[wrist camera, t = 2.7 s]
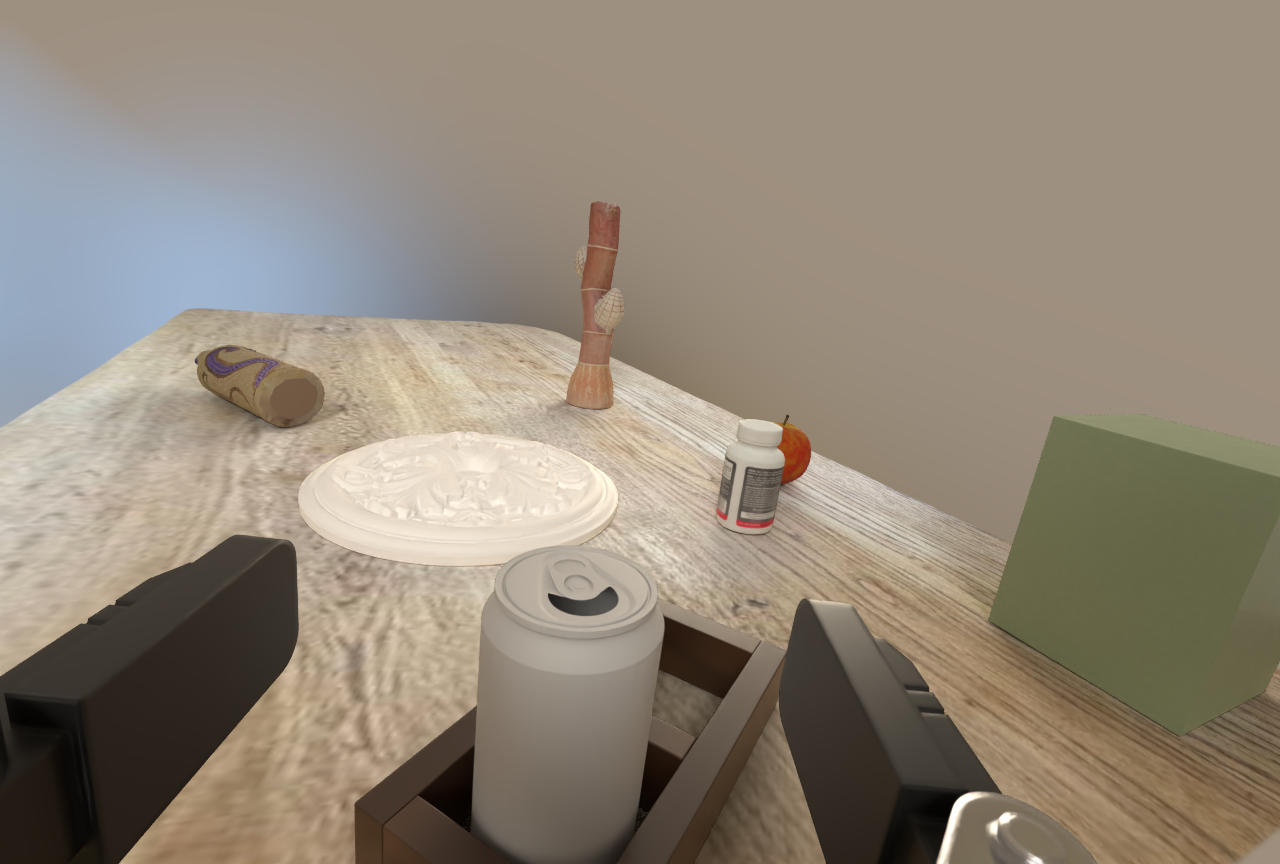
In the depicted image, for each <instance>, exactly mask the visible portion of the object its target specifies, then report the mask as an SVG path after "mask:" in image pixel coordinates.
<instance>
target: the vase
mask: <svg viewBox="0 0 1280 864" xmlns="http://www.w3.org/2000/svg"><path fill="white" fill-rule="evenodd" d="M619 222H620V208H619V207H618V206H617V204H615V203H612V202H599V201H597V202H594V203H592V204H591V211H590V221H589V240H588V247H586V246H582V247H580V248H579V250H578V253H577V256H576V260H575V270H576V272H577V275H578V278H579V279H581V280H582V285H581V294H582V304H583V334H582V342H581V350H580V356H579V361H578V364H577V366H576V368H575V371H574V373H573V375H572V377H571V380H570V383H569V386H568V391H567V398H566V402H567V403H569V404H571V405H574V406H577V407H581V408H588V409H604V408H610V407H611V405H612V404H613V383H612V377H611V373H610V367H609V358H610V352H611V346H612V340H613V329H614V328H615V327H616V326H617V324H618V323H619V322H620V321H621V320H622V318H623V315H624V301H623V297H622V294H621V292H620V290H619V289H616V288H613V289H611V282H612V276H613V269H614V265H615V259H616V255H617V252H618V243H619Z"/></svg>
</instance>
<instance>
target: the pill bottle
mask: <svg viewBox="0 0 1280 864" xmlns="http://www.w3.org/2000/svg"><path fill="white" fill-rule="evenodd" d="M782 433H783V428H782V427H781V426H779V425H777V424H775V423H771V422H768V421H762V420H753V419H749V420H741V421H740V422H739V425H738V431H737V438H738V441H737V442H734V443H732V444H730V445H729V446H728V448H727V450H726V454H725V462H724V468H723V474H722V480H721V486H720V493H719V498H718V504H717V512H716V518H717V521H718V522H719V523H720V524H721V525H722V526H724V527H725V528H727V529H729V530H732V531H735V532H739V533H744V534H763V533H767V532H768V531H770V530H771V528H772V525H773V521H774V516H775V511H776V506H777V500H778V495H779V490H780V485H781V480H782V474H783V470H784V465H785V457H784V454H783V453H782V452H781V451H780V450H779V449H778V448H777V446H778V445H780V442H781V441H782Z"/></svg>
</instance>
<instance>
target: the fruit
mask: <svg viewBox="0 0 1280 864" xmlns="http://www.w3.org/2000/svg"><path fill="white" fill-rule="evenodd" d="M788 418H789V415H786V418H785V421H784V423H775V424H777V425H779V426H781V427H782V428H783V433H782V441H781V442H780V445H778V446H777V448H778V449H779V450H780V451H781V452H782V453H783V454H784V457H785V465H784V470H783V474H782V480H781V484H785V483H788V482H791V481H794V480H796V479H797V478H799V477H800V476H802V475H803V473H804V472H805V471H806V469H807V467H808V465H809V462H810V458H811V447H810V442H809V440H808V438H807V436H806V435H805V434H804V433H803V432H802V431H801V430H800V429H798V428H797V427H796V426H794V425H792V424H789V423H786V422H787V420H788Z"/></svg>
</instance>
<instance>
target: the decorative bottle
mask: <svg viewBox="0 0 1280 864" xmlns="http://www.w3.org/2000/svg"><path fill="white" fill-rule="evenodd" d="M195 363H196V364H198V368H197V375H198V378H199V381H200V383H201V384H202V385H203V386H204V387H205V388H206V389H208V390H209V391H211V392H212V393H214V394H215V395H218V396H220V397H222V398H224V399H226V400H228V401H230V402H232V403H235V404H236V405H238V406H240V407H241V408H244V409H246V410H248V411H250V412H251V413H252V414H255V415H256V416H258V417H261V418H263V419H264V420H265V421H267V422H269V423H271V424H274V425H276V426H279V427H288V428H289V427H293V426H296V425H300V424H302V423H305V422H307V421H309V420H310V419H311V418H312V417H313V416H315V415H316V414H317V413H318V412H319V411H320V409H321V407H322V405H323V401H324V395H325V392H324V387H323V385H322V383H321V381H320V379H319V378H318V377H317V376H316V375H315V374H314V373H312V372H310V371H308V370H305V369H301V368H298V367H295V366H293V365H290V364H287V363H285V362H283V361H280V360H277V359H275V358H272V357H270V356H267V355H264V354H261V353H258V352H256V351H253V350H252V349H247V348H245V347H242V346H236V345H226V346H221V347H217V348H215V349H213V350H211V351H203V352H201V353H200V354H199V355H198V356H197V358H196V359H195Z"/></svg>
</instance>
